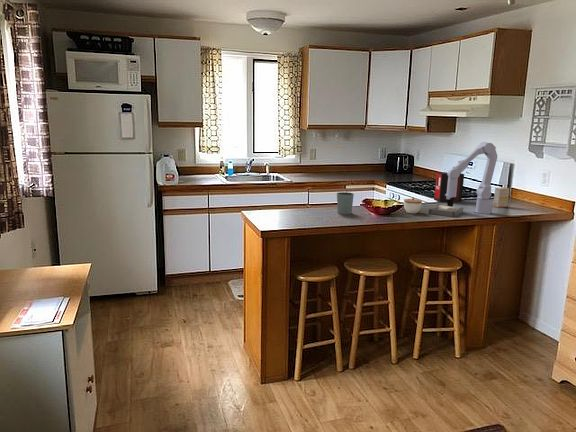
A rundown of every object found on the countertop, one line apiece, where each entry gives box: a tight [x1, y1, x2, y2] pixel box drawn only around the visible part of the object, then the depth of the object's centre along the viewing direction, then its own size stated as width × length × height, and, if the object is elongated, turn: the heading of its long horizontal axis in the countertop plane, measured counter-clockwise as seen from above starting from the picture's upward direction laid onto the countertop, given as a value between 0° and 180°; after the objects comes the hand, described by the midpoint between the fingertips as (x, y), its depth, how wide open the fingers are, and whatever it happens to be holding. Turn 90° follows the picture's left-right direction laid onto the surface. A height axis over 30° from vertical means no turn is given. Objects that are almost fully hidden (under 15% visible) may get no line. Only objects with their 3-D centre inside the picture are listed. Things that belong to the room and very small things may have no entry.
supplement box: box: [492, 186, 510, 208], centre depth 326 cm, size 8×5×13 cm, turn 108°
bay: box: [428, 204, 464, 218], centre depth 299 cm, size 15×20×3 cm
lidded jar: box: [403, 197, 423, 214], centre depth 297 cm, size 11×11×9 cm
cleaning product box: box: [433, 171, 465, 203], centre depth 342 cm, size 16×9×20 cm, turn 98°
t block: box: [438, 204, 457, 212], centre depth 297 cm, size 10×10×4 cm
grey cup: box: [336, 191, 354, 215], centre depth 288 cm, size 10×10×12 cm
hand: (449, 209), depth 305 cm, fingers closed
